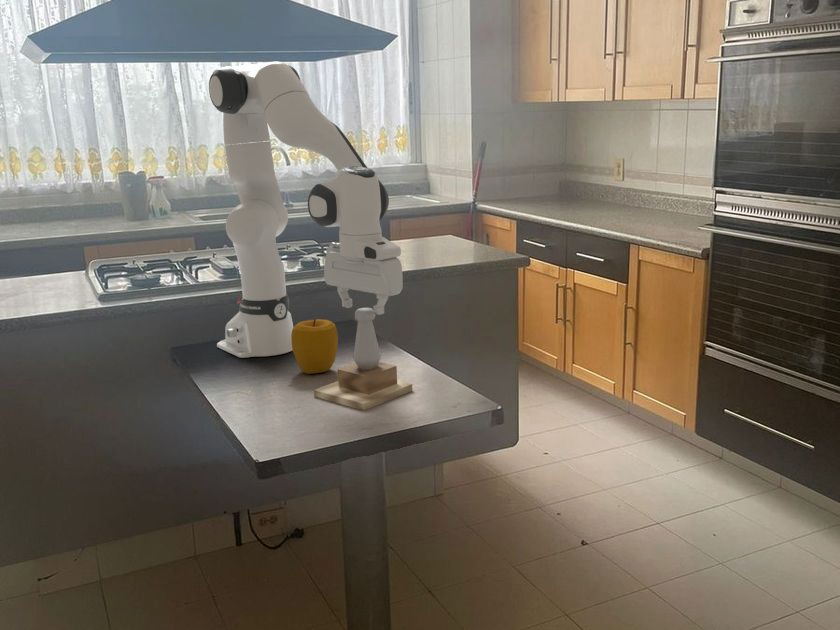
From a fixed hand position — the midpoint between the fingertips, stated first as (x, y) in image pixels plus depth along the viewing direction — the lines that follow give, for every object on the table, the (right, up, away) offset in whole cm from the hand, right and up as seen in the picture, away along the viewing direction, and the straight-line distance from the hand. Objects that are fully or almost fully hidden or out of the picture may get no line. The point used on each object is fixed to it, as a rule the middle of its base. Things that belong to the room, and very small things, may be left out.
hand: (362, 310), depth 172 cm
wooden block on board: (0, -18, +3) cm, 18 cm away
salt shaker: (+1, -12, +3) cm, 13 cm away
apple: (-12, -15, +19) cm, 27 cm away
